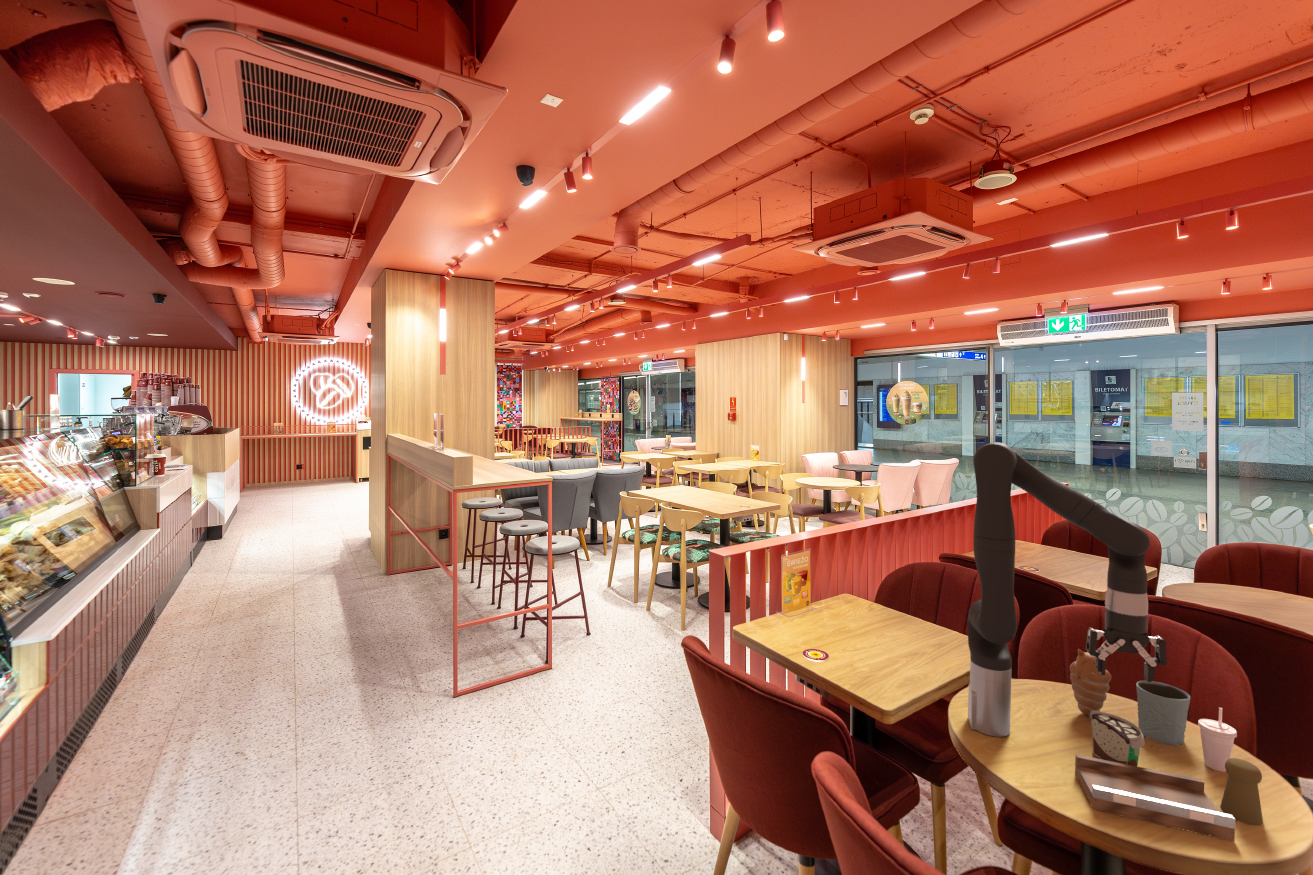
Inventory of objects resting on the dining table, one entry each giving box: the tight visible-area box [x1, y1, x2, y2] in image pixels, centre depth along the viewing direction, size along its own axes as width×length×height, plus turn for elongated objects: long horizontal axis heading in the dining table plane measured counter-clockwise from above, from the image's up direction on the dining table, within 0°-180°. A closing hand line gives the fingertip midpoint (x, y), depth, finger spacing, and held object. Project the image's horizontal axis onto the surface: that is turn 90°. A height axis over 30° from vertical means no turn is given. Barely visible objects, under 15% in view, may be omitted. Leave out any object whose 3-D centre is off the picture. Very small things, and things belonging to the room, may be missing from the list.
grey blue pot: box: [1135, 680, 1191, 746], centre depth 139 cm, size 10×10×12 cm
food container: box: [1088, 711, 1146, 767], centre depth 128 cm, size 12×6×10 cm, turn 179°
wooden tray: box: [1074, 754, 1236, 842], centre depth 115 cm, size 22×13×4 cm, turn 67°
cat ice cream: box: [1069, 648, 1112, 717], centre depth 149 cm, size 9×8×18 cm
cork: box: [1219, 757, 1264, 827], centre depth 112 cm, size 6×6×11 cm
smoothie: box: [1197, 707, 1238, 773], centre depth 127 cm, size 6×6×14 cm
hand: (1124, 676), depth 127 cm, fingers open, 8 cm apart
